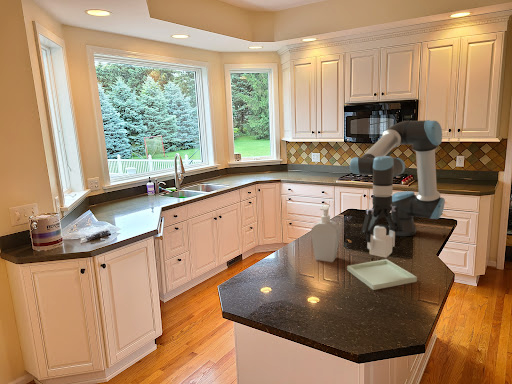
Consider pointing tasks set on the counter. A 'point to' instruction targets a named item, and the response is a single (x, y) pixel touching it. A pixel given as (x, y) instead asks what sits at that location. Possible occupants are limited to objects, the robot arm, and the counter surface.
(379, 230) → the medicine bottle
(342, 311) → the counter surface
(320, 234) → the soap bottle
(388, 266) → the tray
